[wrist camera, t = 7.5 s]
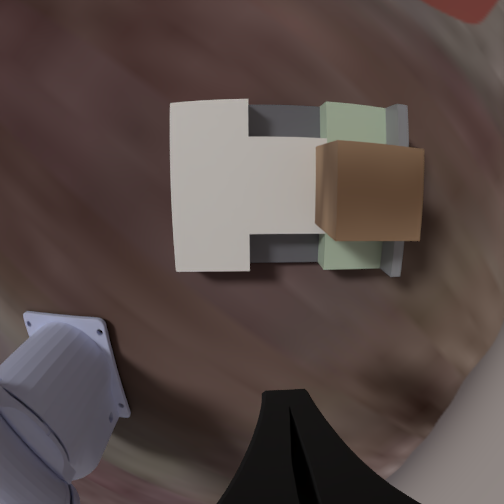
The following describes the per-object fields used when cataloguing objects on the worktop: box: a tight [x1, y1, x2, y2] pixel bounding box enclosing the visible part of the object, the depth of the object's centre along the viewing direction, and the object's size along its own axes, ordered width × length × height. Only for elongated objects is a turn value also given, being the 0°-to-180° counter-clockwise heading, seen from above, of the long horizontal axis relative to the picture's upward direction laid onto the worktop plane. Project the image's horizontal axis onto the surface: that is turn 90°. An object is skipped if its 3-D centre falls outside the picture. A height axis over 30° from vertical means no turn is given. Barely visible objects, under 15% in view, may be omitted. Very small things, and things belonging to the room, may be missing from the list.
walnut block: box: [315, 140, 424, 241], centre depth 13 cm, size 4×4×4 cm
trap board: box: [170, 99, 409, 277], centre depth 16 cm, size 9×12×4 cm
